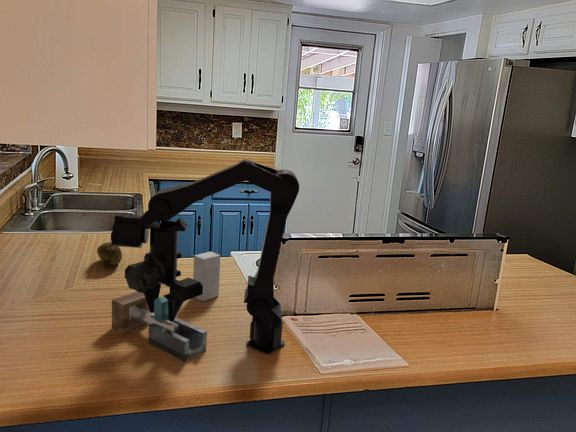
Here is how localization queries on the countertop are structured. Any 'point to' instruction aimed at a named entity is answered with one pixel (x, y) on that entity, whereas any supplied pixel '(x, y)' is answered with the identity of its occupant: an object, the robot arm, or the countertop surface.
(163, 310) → the rod
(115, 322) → the socket block
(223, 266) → the countertop surface
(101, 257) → the potato
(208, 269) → the skincare box
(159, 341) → the channel
